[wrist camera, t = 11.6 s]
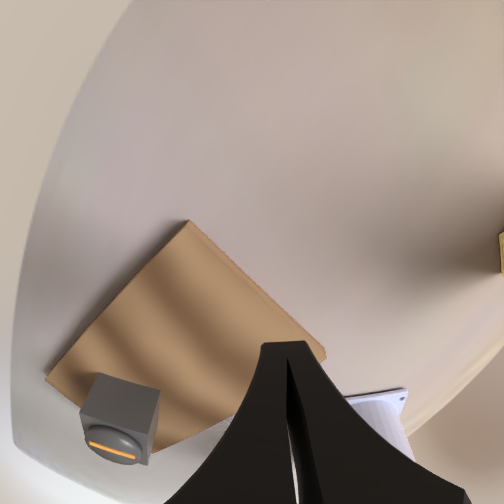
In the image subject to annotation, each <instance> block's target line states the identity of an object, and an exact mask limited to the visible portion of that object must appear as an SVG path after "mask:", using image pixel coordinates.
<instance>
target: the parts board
mask: <svg viewBox="0 0 504 504" xmlns="http://www.w3.org/2000/svg"><path fill="white" fill-rule="evenodd" d="M300 340H305V341H306V342H307V343H308V345H309V347H310V349H311V350H312V352H313V354H314V356H315V357H316V359H317V361H318V362H319V363H321V362H322V361H324V360H325V359H327V356H326V353H325V349H324V347H323V346H322V345H321V344H320V343H319V342H318V341H316V340H315V339H314V338H313V337H312V336H311V335H310V334H309V333H308V332H307V331H306V330H305V329H304V328H302V327H301V326H300V325H299V324H298V323H297V322H296V321H295V320H294V319H293V318H292V317H291V316H290V315H289V314H288V313H286V312H285V311H284V310H283V309H282V308H281V307H280V306H279V305H278V304H277V303H276V302H275V301H274V300H273V299H272V298H271V297H270V296H268V295H267V294H266V293H265V292H264V291H263V290H262V289H261V288H260V287H259V286H258V285H257V284H256V283H255V282H254V281H253V280H252V279H251V278H250V277H248V276H247V275H246V274H245V273H244V272H243V271H242V270H241V269H240V268H239V267H238V266H237V265H236V264H235V263H234V262H233V261H232V260H231V259H230V258H229V257H228V256H227V255H225V254H224V253H223V252H222V251H221V250H220V249H219V248H218V247H217V246H216V245H215V244H214V243H213V242H212V241H211V240H210V239H209V238H208V237H207V236H206V235H205V234H204V233H203V232H202V231H201V230H200V229H199V228H198V227H197V226H196V225H195V224H194V223H192V222H191V221H190V220H189V221H188V222H187V223H186V224H185V225H184V226H183V227H182V228H181V229H180V230H179V231H178V232H177V233H176V234H175V235H174V236H173V237H172V238H171V239H170V240H169V241H168V242H167V243H166V244H165V245H164V246H163V247H162V248H161V249H160V250H159V251H158V252H157V253H156V254H155V255H154V256H153V257H152V258H151V259H150V260H149V261H148V262H147V263H146V265H145V266H144V267H143V268H142V269H141V270H140V271H139V272H138V273H137V274H136V275H135V276H134V277H133V278H132V279H131V280H130V281H129V282H128V283H127V285H126V286H125V287H124V288H123V289H122V290H121V291H120V292H119V293H118V294H117V295H116V296H115V298H114V299H113V300H112V301H111V302H110V303H109V304H108V305H107V306H106V307H105V308H104V310H103V311H102V312H101V313H100V314H99V315H98V316H97V317H96V318H95V320H94V321H93V322H92V323H91V324H90V325H89V326H88V328H87V329H86V330H85V331H84V332H83V333H82V334H81V336H80V337H79V338H78V339H77V340H76V341H75V342H74V344H73V345H72V346H71V347H70V348H69V349H68V351H67V352H66V353H65V354H64V355H63V357H62V358H61V359H60V360H59V361H58V363H57V364H56V365H55V366H54V367H53V369H52V370H51V371H50V372H49V374H48V375H47V377H46V379H45V380H46V381H47V382H48V383H49V384H50V385H52V386H53V387H54V388H55V389H57V390H58V391H59V392H60V393H62V394H63V395H64V396H65V397H67V398H68V399H69V400H71V401H72V402H73V403H75V404H76V405H77V406H79V407H80V408H82V406H83V404H84V402H85V400H86V397H87V395H88V393H89V391H90V389H91V387H92V385H93V384H94V382H95V380H96V378H97V376H98V374H99V372H100V373H104V374H107V375H110V376H113V377H116V378H119V379H123V380H126V381H129V382H133V383H136V384H140V385H143V386H147V387H150V388H154V389H158V390H161V393H160V404H159V416H158V427H157V431H156V434H155V438H154V442H153V446H152V450H151V453H152V454H153V453H155V452H157V451H160V450H162V449H164V448H166V447H169V446H171V445H173V444H175V443H178V442H180V441H182V440H184V439H186V438H188V437H190V436H192V435H195V434H197V433H199V432H201V431H203V430H205V429H207V428H209V427H211V426H213V425H215V424H217V423H219V422H220V421H222V420H224V419H226V418H228V417H230V416H232V415H234V414H236V413H237V411H238V409H239V407H240V405H241V403H242V401H243V399H244V397H245V395H246V393H247V391H248V388H249V386H250V383H251V381H252V378H253V375H254V373H255V370H256V367H257V363H258V360H259V355H260V349H261V345H262V344H263V343H264V342H284V341H300Z"/></svg>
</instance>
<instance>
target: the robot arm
mask: <svg viewBox="0 0 504 504" xmlns="http://www.w3.org/2000/svg"><path fill="white" fill-rule="evenodd" d="M407 396H408V391H407V389H400V390H394V391H389V392H383V393H377V394H370V395H363V396H356V397H349V398H344V397H343V396H342V394H341V393H340V392H339V391H338V389H337V388H336V387H335V385H334V384H333V383H332V381H331V380H330V378H329V377H328V376H327V374H326V373H325V371H324V370H323V368H322V367H321V365H320V364H319V362H318V361H317V359H316V357H315V356H314V354H313V352H312V350H311V349H310V347H309V345H308V343H307V342H306V341H305V340H300V341H284V342H264V343H263V344H262V345H261V349H260V355H259V360H258V363H257V367H256V370H255V373H254V375H253V378H252V381H251V383H250V386H249V388H248V391H247V393H246V395H245V397H244V399H243V401H242V403H241V405H240V407H239V409H238V411H237V413H236V415H235V417H234V418H233V420H232V422H231V424H230V425H229V427H228V429H227V430H226V432H225V433H224V435H223V436H222V438H221V439H220V441H219V442H218V444H217V445H216V447H215V448H214V449H213V451H212V452H211V453H210V455H209V456H208V457H207V459H206V460H205V461H204V462H203V464H202V465H201V466H200V467H199V468H198V470H197V471H196V472H195V473H194V474H193V475H192V476H191V477H190V478H189V479H188V481H187V482H186V483H185V484H184V485H183V486H182V487H181V488H180V489H179V490H178V491H177V492H176V493H175V494H174V495H173V496H172V497H171V498H170V499H169V500H167V501H166V502H165V503H164V504H297V503H296V495H295V487H294V480H293V472H292V463H291V455H290V446H289V437H288V430H289V435H290V441H291V446H292V452H293V457H294V462H295V468H296V474H297V482H298V495H299V504H472V503H471V501H470V499H469V497H468V496H467V494H466V492H465V490H464V489H462V488H460V487H458V486H456V485H454V484H452V483H450V482H448V481H446V480H444V479H442V478H440V477H439V476H437V475H435V474H433V473H432V472H430V471H428V470H427V469H425V468H423V467H422V466H420V465H419V464H417V463H416V461H415V459H414V456H413V453H412V450H411V448H410V445H409V442H408V440H407V437H406V434H405V432H404V429H403V426H402V424H401V421H400V419H399V416H400V413H401V411H402V408H403V406H404V403H405V401H406V398H407ZM287 424H288V428H287Z"/></svg>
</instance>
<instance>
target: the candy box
mask: <svg viewBox="0 0 504 504" xmlns="http://www.w3.org/2000/svg"><path fill="white" fill-rule="evenodd" d="M498 236H499V244H500V256H501V273H502V275H503V276H504V231H503V232H502V233H500V234H499V235H498Z"/></svg>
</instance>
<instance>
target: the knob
mask: <svg viewBox="0 0 504 504" xmlns="http://www.w3.org/2000/svg"><path fill="white" fill-rule="evenodd" d="M160 393H161V390H158V389H154V388H150V387H147V386H143V385H140V384H136V383H133V382H129V381H126V380H123V379H119V378H116V377H113V376H110V375H107V374H104V373H100V372H99V374H98V376H97V378H96V380H95V382H94V384H93V385H92V387H91V389H90V391H89V393H88V395H87V397H86V400H85V402H84V404H83V406H82V408H81V410H80V412H79V414H80V418H81V422H82V426H83V430H84V434H85V441H86V444H87V445H88V447H90V449H92V450H93V451H94V452H95V453H97V454H98V455H100V456H101V457H103V458H105V459H107V460H110V461H112V462H115V463H119V464H124V465H133V464H137V463H140V464H143V465H147V466H148V462H149V458H150V454H151V450H152V446H153V442H154V438H155V434H156V431H157V427H158V416H159V404H160Z"/></svg>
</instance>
